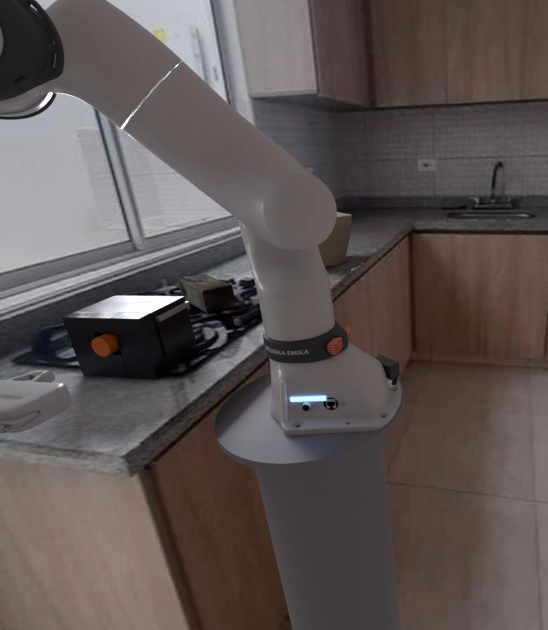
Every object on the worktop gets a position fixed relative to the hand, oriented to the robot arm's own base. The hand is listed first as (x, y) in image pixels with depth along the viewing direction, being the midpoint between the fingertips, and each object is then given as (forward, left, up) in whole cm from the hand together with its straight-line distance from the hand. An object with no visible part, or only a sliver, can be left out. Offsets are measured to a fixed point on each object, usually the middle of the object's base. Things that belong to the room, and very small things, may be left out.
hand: (46, 374), depth 69 cm
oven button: (0, -12, -2) cm, 12 cm away
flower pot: (-7, -93, -7) cm, 93 cm away
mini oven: (0, -18, -7) cm, 19 cm away
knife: (-10, -46, -7) cm, 48 cm away
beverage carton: (+9, -52, -7) cm, 53 cm away
